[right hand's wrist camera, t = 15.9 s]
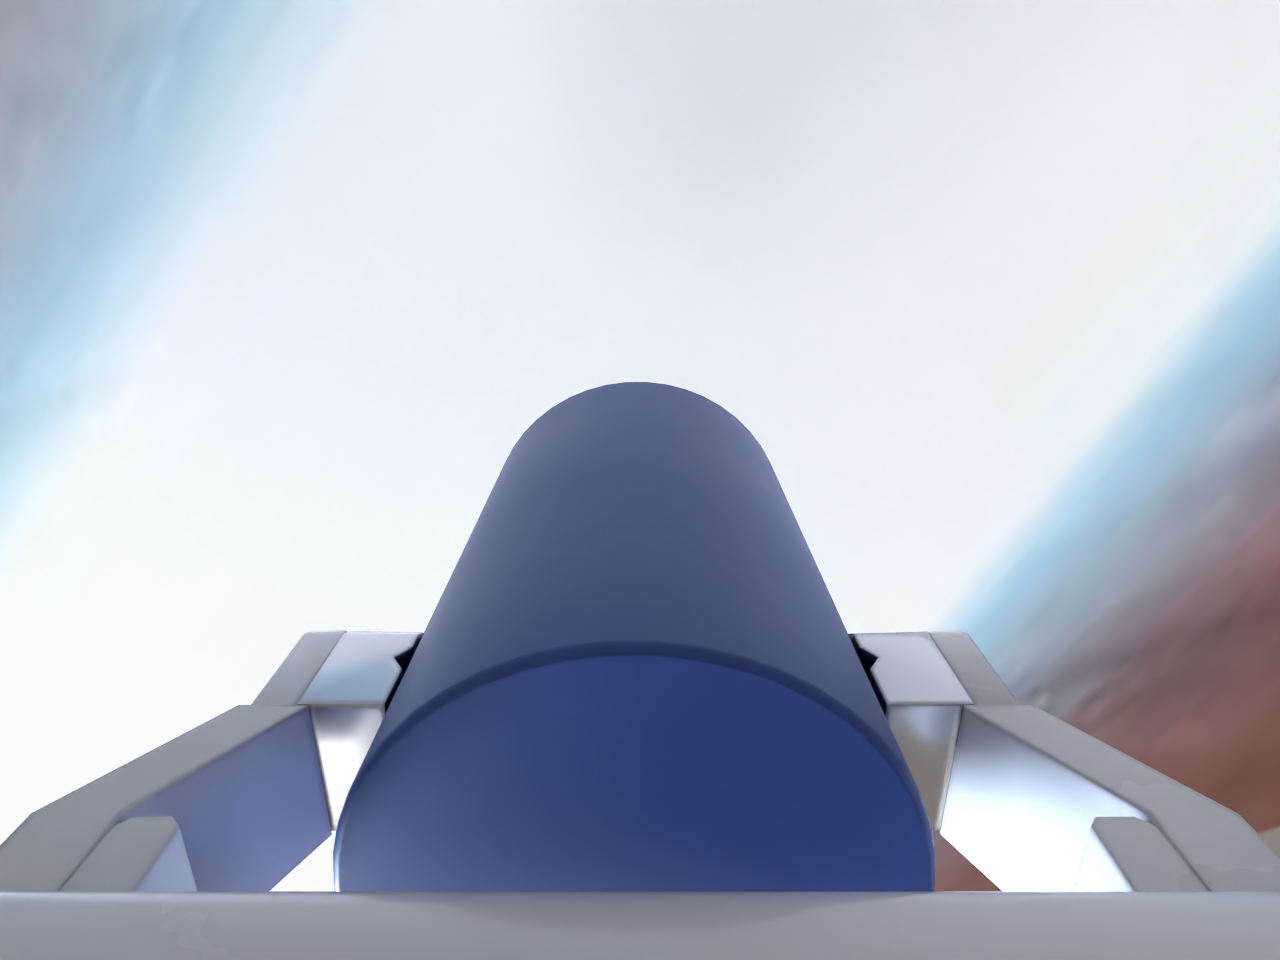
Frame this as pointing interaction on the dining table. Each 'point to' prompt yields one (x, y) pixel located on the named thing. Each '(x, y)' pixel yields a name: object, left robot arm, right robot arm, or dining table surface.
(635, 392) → the canister
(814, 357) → the dining table surface
